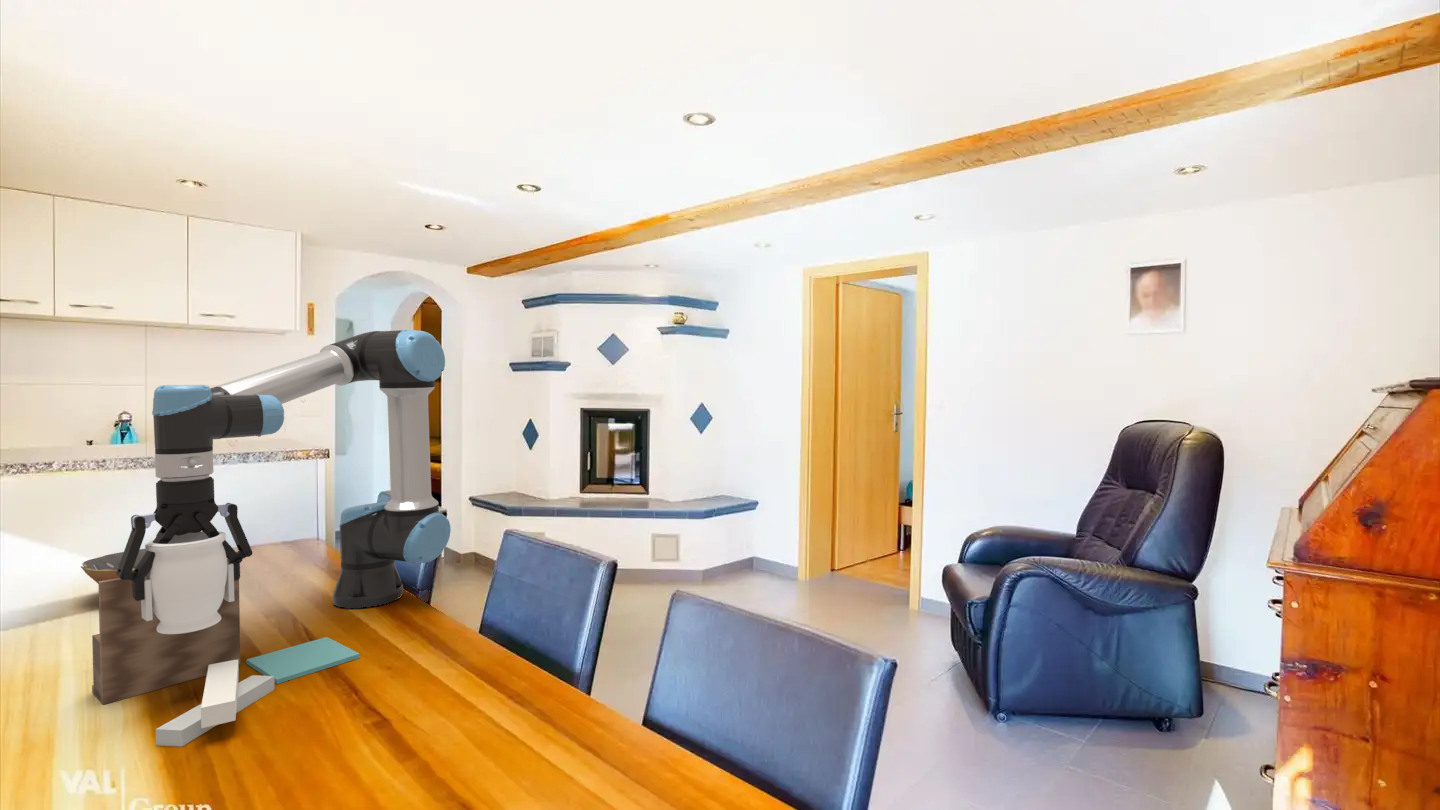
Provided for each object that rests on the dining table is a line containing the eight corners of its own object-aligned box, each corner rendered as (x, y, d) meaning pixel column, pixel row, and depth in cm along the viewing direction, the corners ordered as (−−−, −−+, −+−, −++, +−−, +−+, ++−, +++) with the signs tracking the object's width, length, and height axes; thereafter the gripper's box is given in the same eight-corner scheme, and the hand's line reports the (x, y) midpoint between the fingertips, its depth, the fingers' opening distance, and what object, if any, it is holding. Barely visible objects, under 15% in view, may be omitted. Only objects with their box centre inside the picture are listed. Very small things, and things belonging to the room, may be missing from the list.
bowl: (233, 591, 166) (232, 552, 166) (102, 621, 146) (101, 575, 145) (191, 575, 180) (190, 539, 180) (66, 600, 159) (65, 559, 159)
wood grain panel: (226, 656, 127) (224, 552, 127) (240, 665, 123) (238, 558, 123) (92, 692, 112) (89, 575, 112) (102, 704, 108) (100, 582, 107)
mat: (326, 640, 135) (326, 636, 135) (359, 657, 127) (359, 653, 127) (246, 663, 124) (246, 659, 124) (277, 684, 116) (277, 679, 116)
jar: (138, 642, 104) (135, 548, 104) (158, 620, 114) (155, 534, 113) (221, 631, 109) (219, 540, 109) (234, 611, 118) (231, 527, 118)
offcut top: (209, 682, 111) (208, 664, 111) (238, 676, 113) (238, 659, 113) (201, 728, 96) (200, 707, 96) (235, 720, 99) (235, 700, 99)
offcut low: (252, 692, 114) (252, 675, 114) (274, 693, 114) (274, 676, 114) (156, 749, 96) (155, 729, 96) (182, 750, 96) (181, 730, 96)
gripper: (98, 489, 99) (103, 635, 100) (272, 471, 117) (276, 595, 118) (86, 484, 103) (91, 624, 104) (256, 468, 122) (259, 587, 123)
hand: (189, 609), depth 111 cm, fingers closed on jar, 10 cm apart
